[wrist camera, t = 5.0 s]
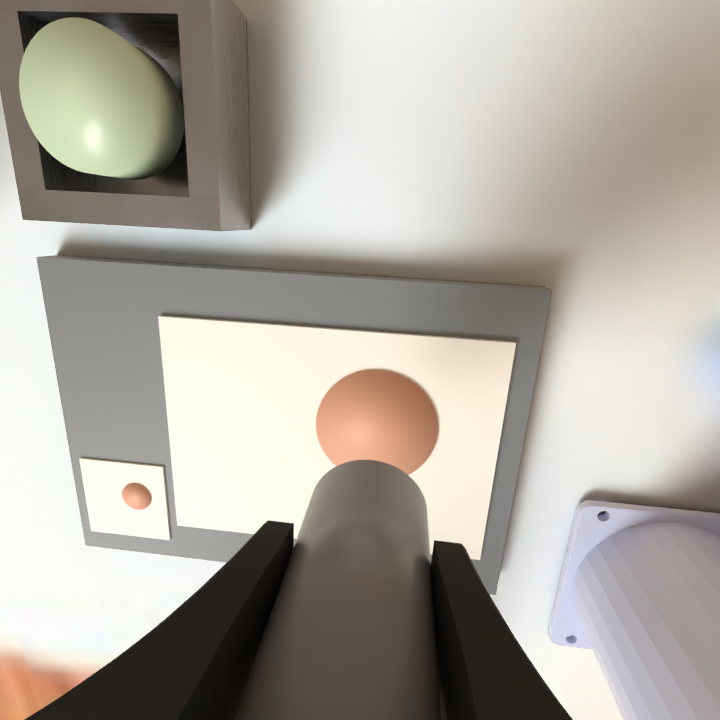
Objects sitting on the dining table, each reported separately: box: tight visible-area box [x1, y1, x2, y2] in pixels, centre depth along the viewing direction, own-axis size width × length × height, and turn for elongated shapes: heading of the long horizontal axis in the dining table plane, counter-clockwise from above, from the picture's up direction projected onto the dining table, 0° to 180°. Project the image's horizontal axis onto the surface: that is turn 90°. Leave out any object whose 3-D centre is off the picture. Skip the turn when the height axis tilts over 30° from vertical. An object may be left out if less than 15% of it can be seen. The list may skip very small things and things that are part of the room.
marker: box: [234, 460, 442, 720], centre depth 8 cm, size 3×3×8 cm
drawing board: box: [37, 255, 552, 595], centre depth 19 cm, size 20×14×1 cm
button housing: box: [0, 0, 251, 231], centre depth 15 cm, size 7×7×3 cm
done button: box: [19, 17, 184, 180], centre depth 14 cm, size 4×4×2 cm
